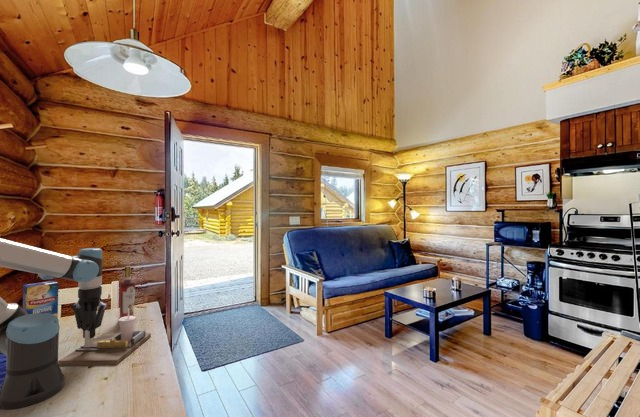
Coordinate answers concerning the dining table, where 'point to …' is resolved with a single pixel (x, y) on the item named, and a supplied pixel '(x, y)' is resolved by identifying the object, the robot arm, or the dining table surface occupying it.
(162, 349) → the dining table surface
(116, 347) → the bar
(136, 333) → the collar
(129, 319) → the smoothie
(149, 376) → the dining table surface
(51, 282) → the blue food box
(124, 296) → the liquor
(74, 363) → the board
